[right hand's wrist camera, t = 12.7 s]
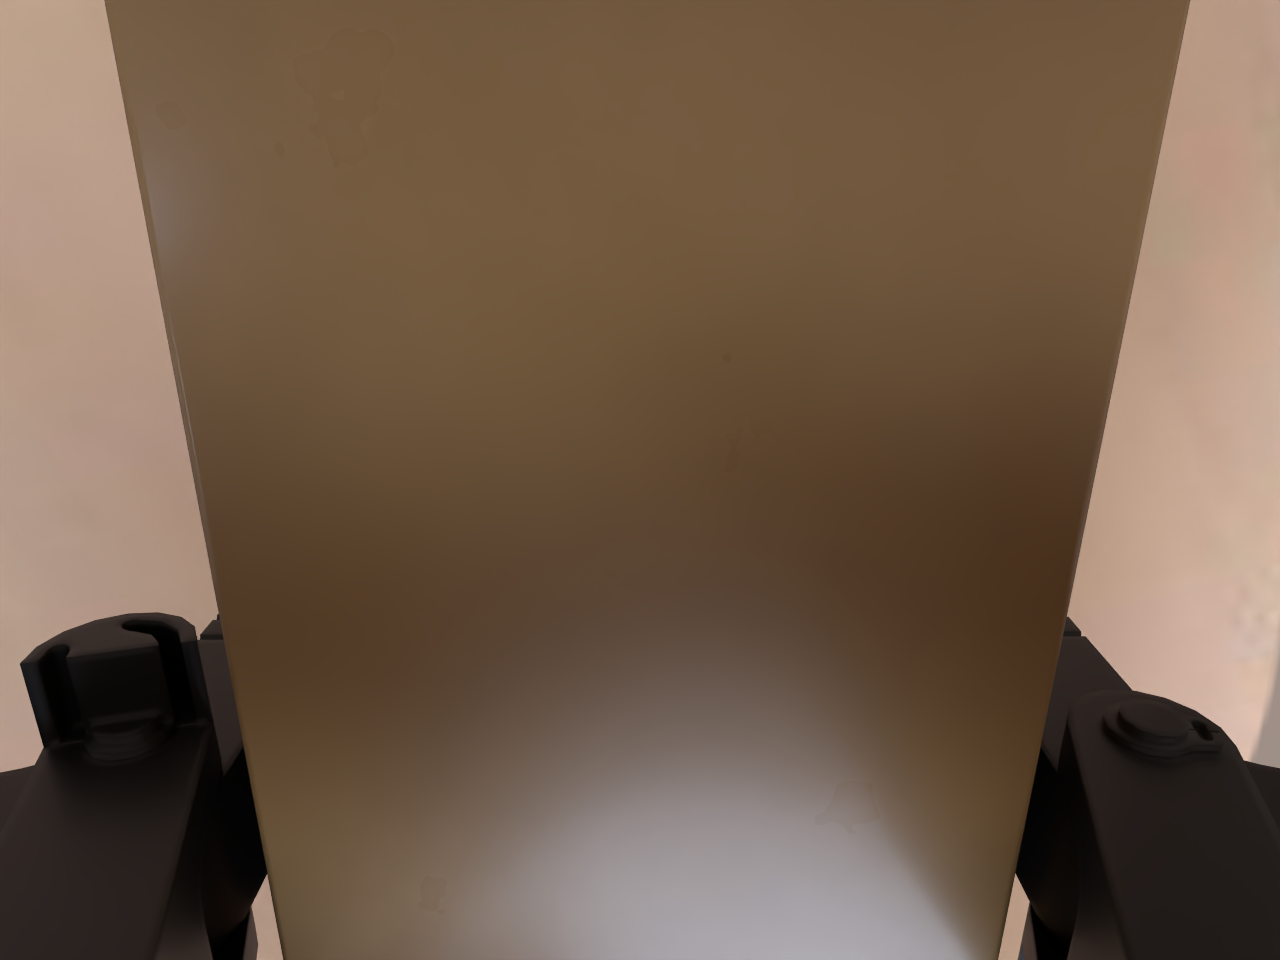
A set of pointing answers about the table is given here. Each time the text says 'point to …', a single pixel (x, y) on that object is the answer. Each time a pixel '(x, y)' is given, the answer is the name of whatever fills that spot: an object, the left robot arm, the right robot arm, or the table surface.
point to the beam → (644, 446)
